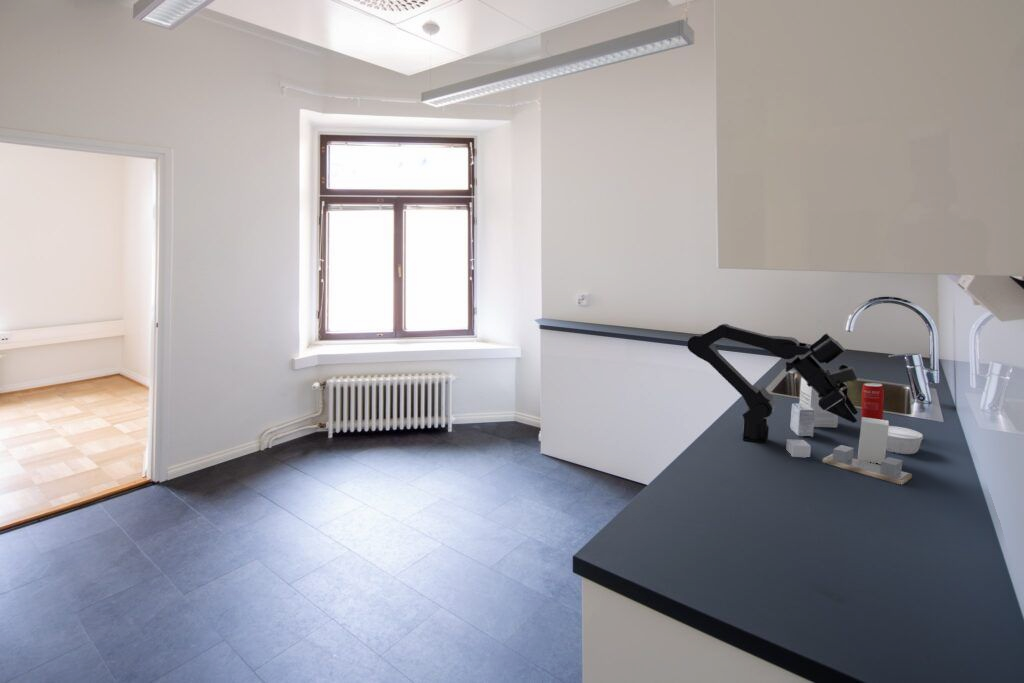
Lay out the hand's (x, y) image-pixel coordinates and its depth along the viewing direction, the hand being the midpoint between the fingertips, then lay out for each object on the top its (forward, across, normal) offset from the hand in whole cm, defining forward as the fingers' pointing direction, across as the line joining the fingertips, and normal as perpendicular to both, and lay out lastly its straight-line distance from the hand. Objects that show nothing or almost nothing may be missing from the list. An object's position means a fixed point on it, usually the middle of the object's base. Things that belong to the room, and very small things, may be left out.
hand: (856, 417), depth 143 cm
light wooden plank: (+10, -9, +6) cm, 15 cm away
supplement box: (0, +28, +16) cm, 33 cm away
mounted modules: (+9, -9, +5) cm, 14 cm away
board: (+10, -9, +6) cm, 15 cm away
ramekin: (+16, +15, +1) cm, 21 cm away
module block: (+11, 0, +5) cm, 12 cm away
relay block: (-1, -7, +17) cm, 18 cm away
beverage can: (+11, +32, +5) cm, 34 cm away
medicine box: (-2, +15, +18) cm, 23 cm away
